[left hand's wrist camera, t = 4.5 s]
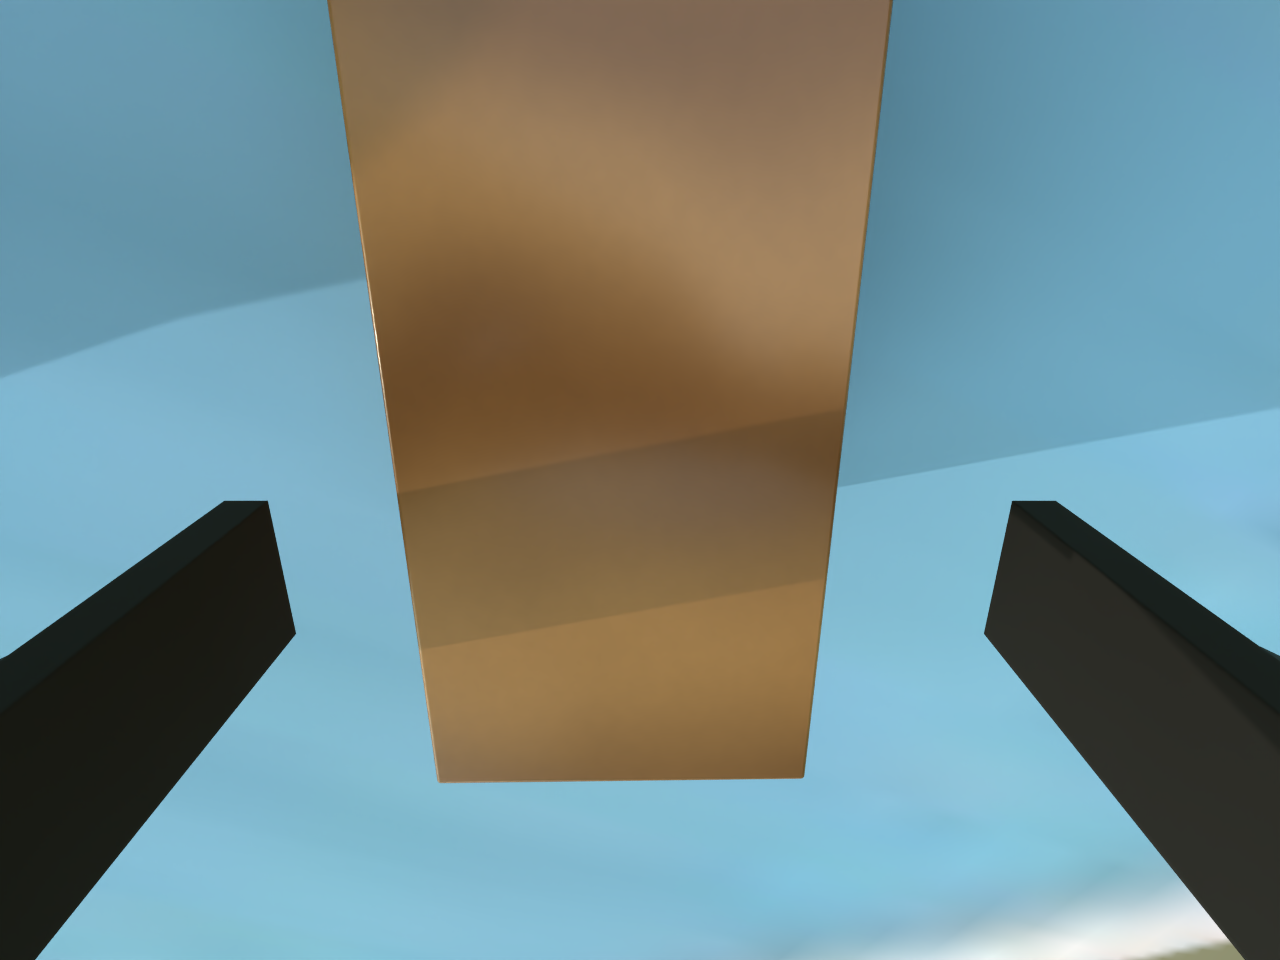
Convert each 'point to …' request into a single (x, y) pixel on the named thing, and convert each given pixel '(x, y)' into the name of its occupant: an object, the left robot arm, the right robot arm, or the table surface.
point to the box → (614, 362)
